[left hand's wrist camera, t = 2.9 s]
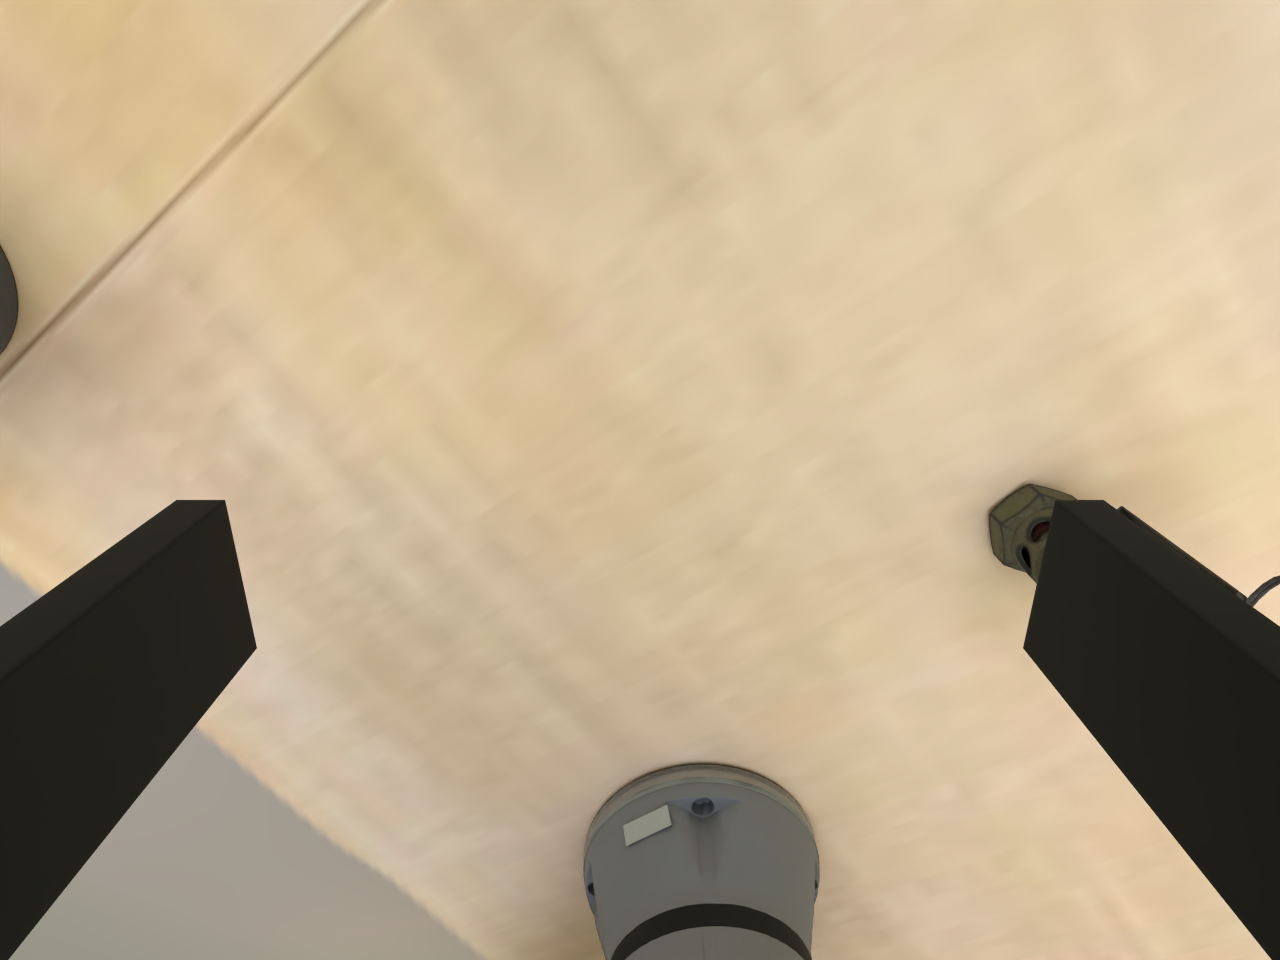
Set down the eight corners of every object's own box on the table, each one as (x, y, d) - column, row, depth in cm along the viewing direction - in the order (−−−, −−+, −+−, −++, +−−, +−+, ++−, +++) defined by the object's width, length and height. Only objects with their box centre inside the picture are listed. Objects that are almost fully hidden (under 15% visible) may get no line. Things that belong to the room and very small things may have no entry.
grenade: (1015, 601, 45) (1185, 798, 31) (955, 536, 43) (1106, 711, 29) (1152, 503, 42) (1402, 667, 29) (1094, 430, 41) (1328, 565, 27)
